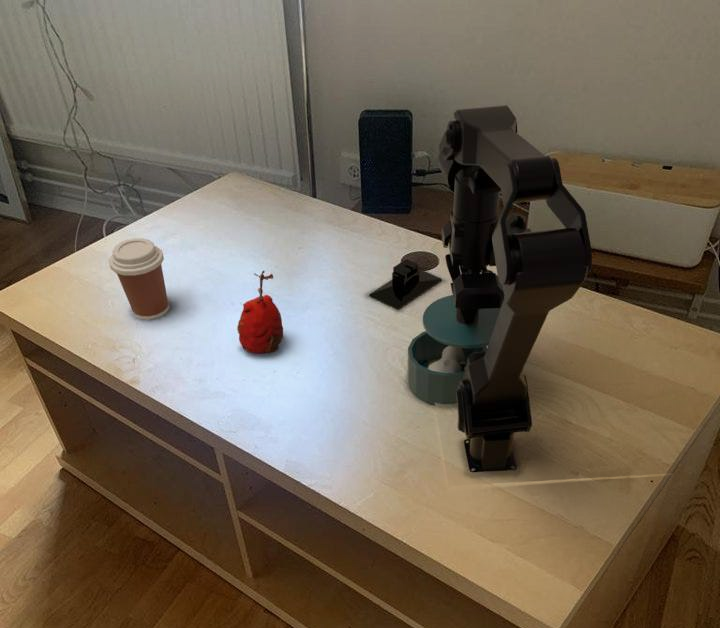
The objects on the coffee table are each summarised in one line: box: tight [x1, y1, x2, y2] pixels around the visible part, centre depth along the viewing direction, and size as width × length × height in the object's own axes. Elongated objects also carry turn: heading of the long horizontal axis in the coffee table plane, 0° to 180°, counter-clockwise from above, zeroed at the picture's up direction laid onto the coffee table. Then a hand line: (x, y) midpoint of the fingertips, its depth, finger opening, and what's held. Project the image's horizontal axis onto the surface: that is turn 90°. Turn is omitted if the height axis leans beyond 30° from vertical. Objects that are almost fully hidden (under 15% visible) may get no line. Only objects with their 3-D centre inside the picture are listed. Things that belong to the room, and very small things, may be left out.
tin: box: [407, 330, 488, 406], centre depth 110 cm, size 12×12×6 cm
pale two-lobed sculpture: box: [427, 346, 464, 373], centre depth 111 cm, size 4×8×5 cm
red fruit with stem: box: [236, 270, 284, 355], centre depth 115 cm, size 8×7×15 cm
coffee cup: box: [108, 237, 170, 320], centre depth 125 cm, size 9×9×12 cm
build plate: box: [368, 258, 443, 311], centre depth 129 cm, size 12×7×5 cm, turn 137°
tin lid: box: [422, 294, 501, 348], centre depth 103 cm, size 13×13×6 cm
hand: (467, 315), depth 104 cm, fingers closed on tin lid, 3 cm apart
